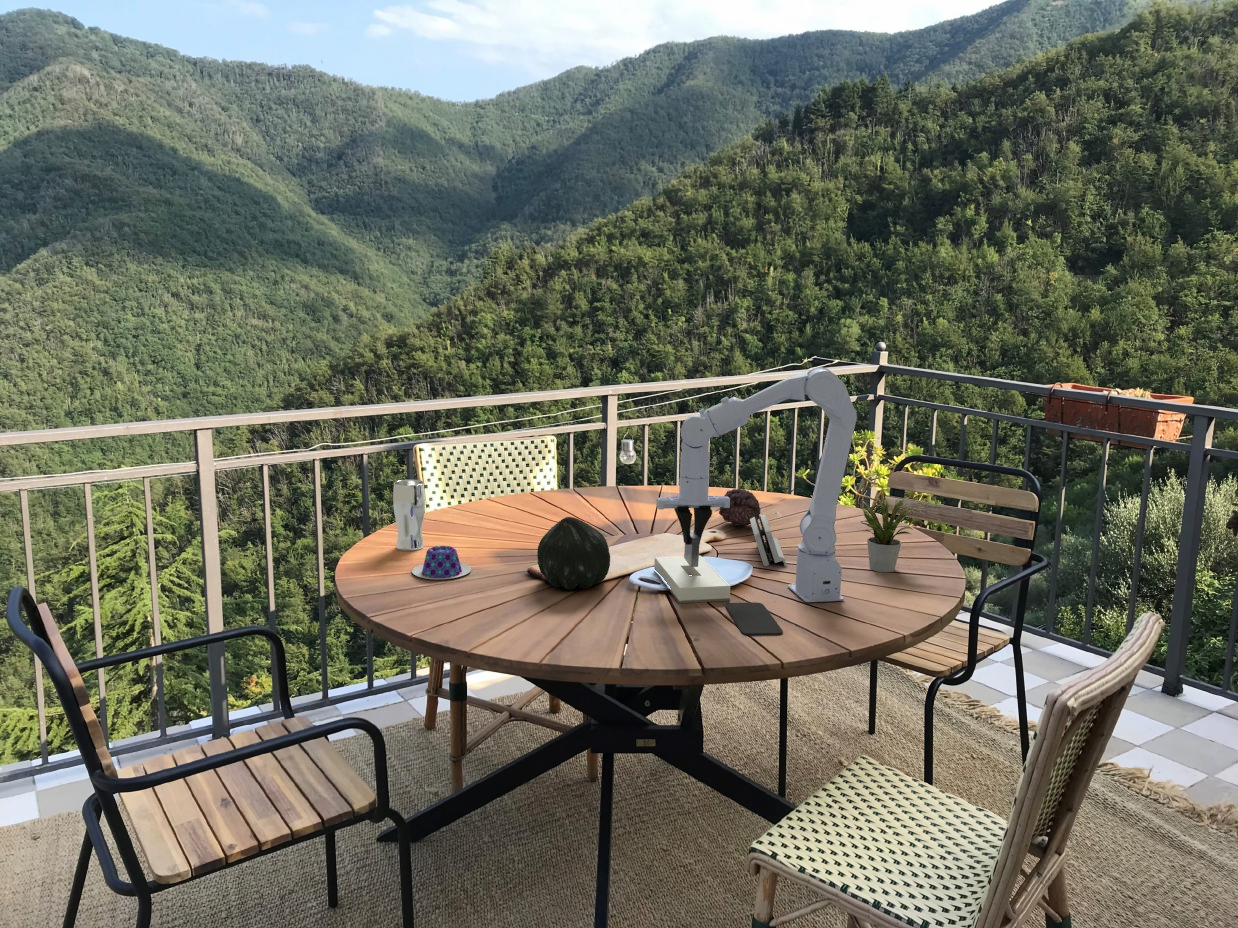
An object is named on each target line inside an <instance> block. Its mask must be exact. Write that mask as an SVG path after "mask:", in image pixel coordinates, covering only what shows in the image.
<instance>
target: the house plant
mask: <svg viewBox="0 0 1238 928" xmlns="http://www.w3.org/2000/svg"><path fill="white" fill-rule="evenodd" d="M875 499H877V501H878V503H879V504H880V509H881V519H882V524H881V523H880V521H879V518H878V515H877V514H876V512H875V510H874V509H873V508H872V507H871V505H869V504H868V503H866V502H865V501H864V500H862V499H860V502H862V503H863V504H864V505H865V506H866V507H867V508H866V507H861V508H862V509H861V510H862V512H863V515H864V518H865V520H862V521H860V524H862V525H865V526H867V527H869V528H871V529H872V531H873V532H872V531H871V530H869V529H864V530H863V532H868V533H871V534H872V535H873V536H871V537H868V538H867V541H866V542H867V551H868V563H869V569H870V570H872V571H874V572H879V573H893V572H895V570H896V566H897V561H898V557H899V554H900V550H901V547H902V542H901V540H900V539H897V538H895V537H896V536H897V535H901V534H902V535H903V534H904V535H905V534H906V535H907V534H908V535H911V533H910V532H909V531H903V530H907V529H910V530H913V528H912V527H911V526H905V527H901V528H900V529H899V530H898V531H897V532H896V529H897V527H898V526H899V524H900V523H901V522H902V521H903V520H904V519H905V517H906V515H908V514H909V513H911V512H912V511H914V510H916V509H920V508H924V506H923V505H921V506H915V507H913V508H912V507H911V506H907V507H905V508H904V509H903V510H902V511H901V512H900V514H898V516H897V517H896V515H897V513H898V511H899V509H901V507H902V506H905V505H908V504H905V503H904V502H905V501H907V500H908V498H903V499H901V500H900V501H898V503H896V505H894V507H893V509H892V512H891V515H890V517H889V503H888V500H887V498H886V497H884V500H885V502H883V500H881V499H880V498H879V497H877V496H875ZM910 508H911V509H910ZM895 518H896V519H895ZM895 532H896V533H895Z"/></svg>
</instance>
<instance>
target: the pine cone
mask: <svg viewBox="0 0 1238 928" xmlns="http://www.w3.org/2000/svg"><path fill="white" fill-rule="evenodd" d="M723 496H727V497H729V498H730V508H724V507H719V512H718V514H719V516H721V517H722V519H723V521H724V522H727V523H731V525H732V526H734V527H735V526H739V527H741V526H744V527H748V525H751V522H750V519H751V518H753V517H755V518H756V517H757V520H759V516H760V515H761V507H760V503H759V500H758V499H757V497H756V496H755V494H754V493H753V492H750V491H749V490H746V489H745V488H739V487H738V488H735V489H734V488H733V489H731V490H729V489H728V490H727V491H726V493H725V494H724V495H723Z"/></svg>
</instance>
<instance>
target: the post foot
mask: <svg viewBox="0 0 1238 928" xmlns="http://www.w3.org/2000/svg"><path fill="white" fill-rule="evenodd" d="M653 566H654V568H653V569H655V570H656V571H657V572H658V573H659V574H660V575H661V576H662V577H663V578H664V580H665V581H666V582H667V584H668V585H669V586H670V588H671V590H670V591H669V592H670V593H671V595H672V596H673V597H674V598H675V600H676V601H677V603H678V604H686V603H687V604H688V603H689V604H692V603H693V604H694V603H707V602H708V603H709V602H711V603H712V602H729V601H731V585H730V584H729V583H728V581H726V580H725V579H724V577H722V576H721V575H720V573H719V572H718V571H717V570H716V569H715V568H714V567H713V566H711V565H710V563H709V562H708V561H707V560H706V559H704V558H703V557H702V556H701V555H700V554H699V560H698V567H690V565H689V564H688V563H687V561H686V560H685V558H684V555H676V556H675V555H673V556H655V557H654V565H653ZM689 575H692V576H689Z"/></svg>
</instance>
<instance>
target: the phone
mask: <svg viewBox="0 0 1238 928" xmlns="http://www.w3.org/2000/svg"><path fill="white" fill-rule="evenodd" d="M724 608H725V609H726V611H727V614H729V616H730V618H731V619H732V621H733V622H734V624H735V626H736V627H737V628H738V630H739V632H740V634H741V635H744V636H749V637H751V636H754V637H755V636H757V637H758V636H761V637H762V636H782V635H783V634H784V631H783V629H782V628H781V626H780V625H779V624H778V622H777V621H776V620H775V618H774V617H773V615H772V614H771V613H770V612H769V610H768V609H767V607H766V606H765V605H764V604H763V603H762V602H758V601H757V602H755V601H753V602H726V603H725V605H724Z"/></svg>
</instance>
